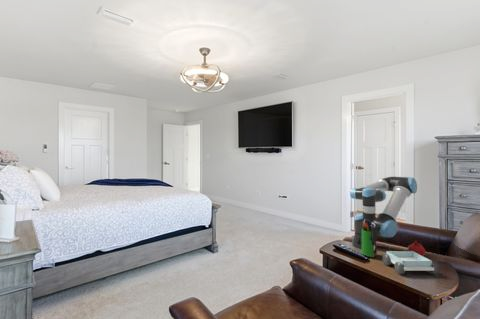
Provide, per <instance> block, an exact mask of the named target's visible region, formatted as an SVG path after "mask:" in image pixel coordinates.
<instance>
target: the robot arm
mask: <svg viewBox="0 0 480 319" xmlns="http://www.w3.org/2000/svg"><path fill="white" fill-rule="evenodd" d="M385 192H393V193H392V194H391V196H390V198H389V201H388V202H387V204H386V206H385V207H384V209H383V210H382V212H381V213H380V212H379V214H378V215H377V217H376V212H377V211H376V207H377V206H376V203H378V202H379V203H381V202H383V201H385V200H386V198H387V194H386V193H385ZM417 192H418V183H417V180H416V179H415V177H409V176H408V177H407V176H387V177H384V178H380V179H378V180H376V182H374V183H373V182H372V183H371V184H368V185H365V186H362V187H360V188H357V187H356V188H351V190H349V197H351V199H355V200H359V201H361V200H362V207H361V209H362V213H357V214H355V215H354V235H353V238H352V240H351V241H352V242H351V245H352V246H353V247H355V248H358V249H361V250H362V228H365V229H364V230H365V231H367V227H366V226H364V227H363V223H367V226H368V229H369V232H372V236H371V239H370V240H372V245H374V250H376V248H375V240H376V241H377V240H378V236H380V237H383V238H393V237H395V235H396V234H397V233H398V225H399V224H398V222H397V218H398V215H399V212H401V209H402V207H403V205H404V204H405V202H406V199H407V198H409V197H411V196H412V194H416V193H417Z"/></svg>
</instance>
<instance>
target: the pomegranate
mask: <svg viewBox="0 0 480 319" xmlns="http://www.w3.org/2000/svg"><path fill="white" fill-rule="evenodd" d="M407 251H414V252H416V253H417V254H419V255H421V256H423V257H425V255H426V252H427V251H426V249H425V247H423V245H422V243H420V242H418V241H417V240H414V241H412V242H411V243H410V244H409V245H408V246H407Z"/></svg>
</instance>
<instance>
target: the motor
mask: <svg viewBox="0 0 480 319" xmlns="http://www.w3.org/2000/svg"><path fill="white" fill-rule="evenodd" d="M364 226H366V227H367V231H365V230H364V229H365V228H362V249H361V254H362V255H363V254H364V256H365V255H366V257H369V258H374V257H377V256H378V250H376V249H377V240H375V250H374V245H372V240H370V239H371V236H372V232H369V229H368V226H367V223H363V227H364Z"/></svg>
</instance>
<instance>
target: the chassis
mask: <svg viewBox="0 0 480 319" xmlns="http://www.w3.org/2000/svg"><path fill="white" fill-rule="evenodd" d="M385 253H386V254H385ZM385 253H384V254H382V263H383V265H385V266H391V265H392V264H393V265H394V270H395V272H396V273H397V275H404V274H405V273H406V271H409V272H410V271H412V272H413V271H418V272H419V271H422V272H423V271H426V273H427V274H429V275H436V274H437V272H438V268H437V266H436V264H435V263H434V262H433V260H431V259H429V258H427V257H425V256H421V255H419V254H417V253H416V252H414V251H408V250H407V251H406V250H405V251H404V250H401V251H397V250H395V251H394V250H393V251H392V250H389V251H388V250H387V251H386V252H385Z"/></svg>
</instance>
